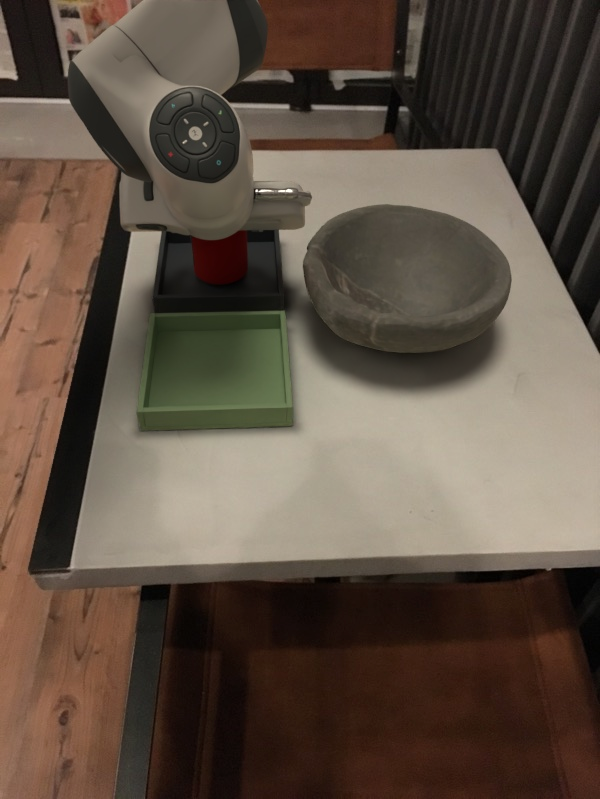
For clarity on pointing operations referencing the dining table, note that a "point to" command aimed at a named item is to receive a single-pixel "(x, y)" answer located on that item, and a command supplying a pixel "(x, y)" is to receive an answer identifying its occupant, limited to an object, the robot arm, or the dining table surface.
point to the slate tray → (193, 295)
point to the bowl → (405, 278)
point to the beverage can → (220, 258)
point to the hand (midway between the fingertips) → (217, 225)
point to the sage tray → (215, 371)
